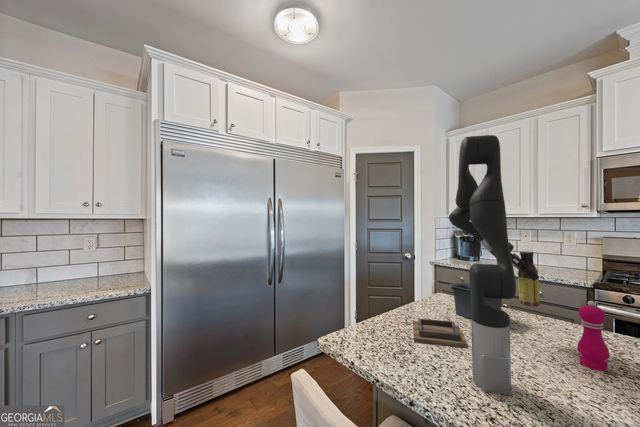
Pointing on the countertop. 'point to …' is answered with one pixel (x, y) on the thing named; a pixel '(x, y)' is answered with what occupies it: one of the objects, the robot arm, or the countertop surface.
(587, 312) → the pepper mill
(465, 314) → the storage bin
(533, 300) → the sauce bottle
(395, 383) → the countertop surface
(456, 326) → the socket board
